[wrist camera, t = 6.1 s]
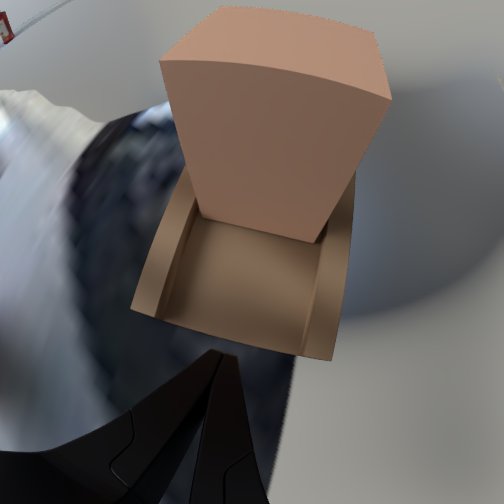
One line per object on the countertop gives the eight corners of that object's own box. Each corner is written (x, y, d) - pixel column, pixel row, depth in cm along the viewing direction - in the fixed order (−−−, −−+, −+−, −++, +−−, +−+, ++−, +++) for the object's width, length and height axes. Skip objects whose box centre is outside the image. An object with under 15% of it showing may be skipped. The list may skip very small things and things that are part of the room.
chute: (321, 359, 15) (345, 362, 11) (142, 313, 15) (113, 301, 12) (348, 158, 20) (364, 123, 16) (214, 128, 20) (209, 91, 17)
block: (313, 243, 16) (392, 100, 6) (202, 217, 17) (158, 60, 6) (324, 167, 18) (373, 32, 8) (229, 147, 19) (221, 6, 8)
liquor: (1, 47, 49) (-15, 11, 23) (8, 40, 51) (-7, 5, 25) (11, 41, 49) (-6, 3, 23) (18, 34, 52) (3, -3, 25)
